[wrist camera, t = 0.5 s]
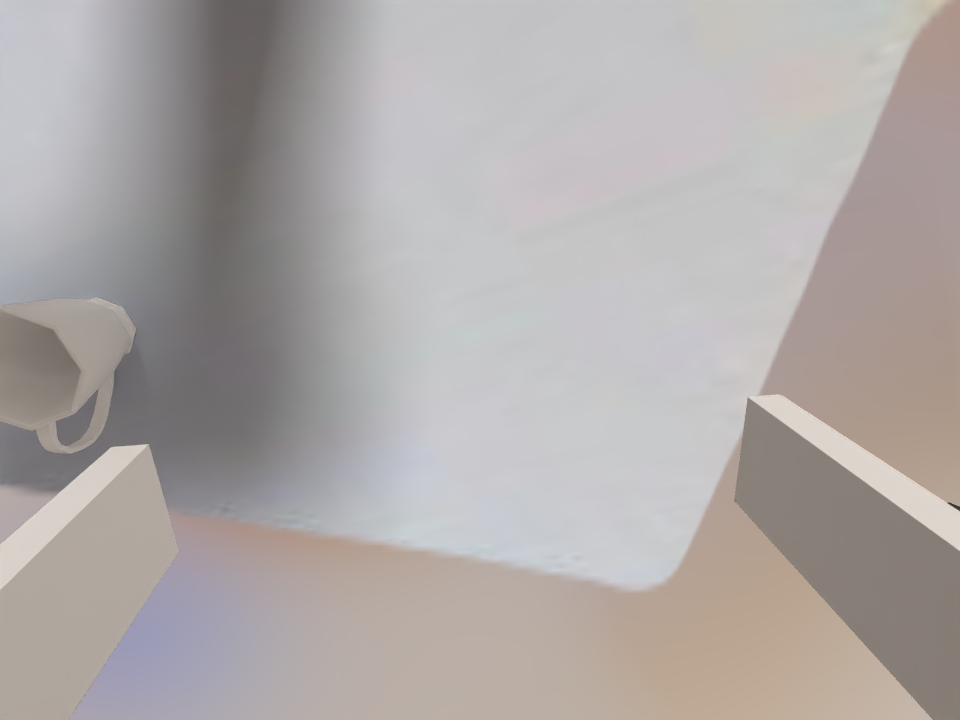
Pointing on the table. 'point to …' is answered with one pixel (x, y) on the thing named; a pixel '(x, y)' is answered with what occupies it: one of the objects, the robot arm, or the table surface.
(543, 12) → the table surface
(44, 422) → the cup
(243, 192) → the table surface
